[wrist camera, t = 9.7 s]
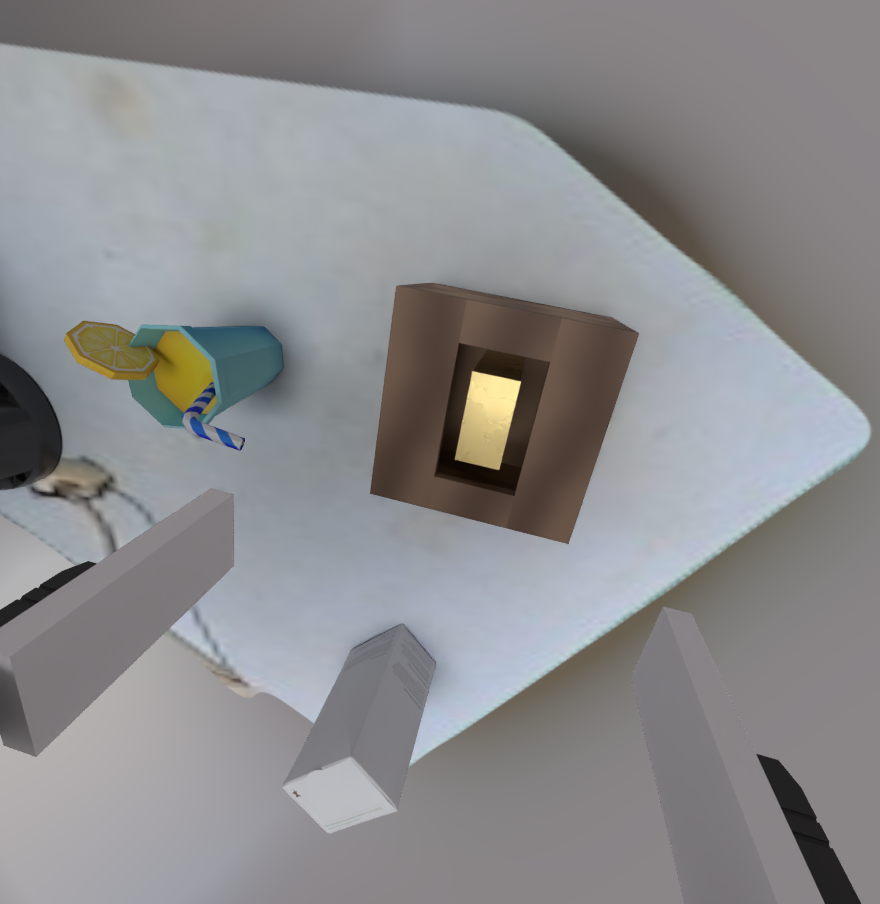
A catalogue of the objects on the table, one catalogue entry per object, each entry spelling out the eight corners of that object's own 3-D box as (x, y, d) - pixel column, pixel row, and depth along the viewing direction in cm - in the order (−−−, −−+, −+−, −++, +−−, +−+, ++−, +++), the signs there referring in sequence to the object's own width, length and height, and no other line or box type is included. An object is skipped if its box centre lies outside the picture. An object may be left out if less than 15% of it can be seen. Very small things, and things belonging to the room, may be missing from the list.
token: (472, 420, 38) (454, 459, 30) (487, 349, 36) (472, 371, 28) (507, 428, 38) (499, 470, 30) (524, 357, 36) (520, 381, 28)
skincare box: (383, 686, 53) (326, 838, 39) (347, 646, 52) (275, 787, 38) (439, 662, 50) (400, 816, 36) (403, 618, 49) (347, 760, 35)
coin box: (407, 445, 41) (370, 493, 32) (432, 282, 36) (396, 285, 27) (561, 482, 40) (568, 544, 31) (612, 317, 34) (639, 333, 25)
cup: (348, 352, 39) (247, 393, 26) (323, 428, 43) (221, 502, 29) (204, 283, 40) (29, 288, 26) (190, 364, 43) (26, 407, 29)
